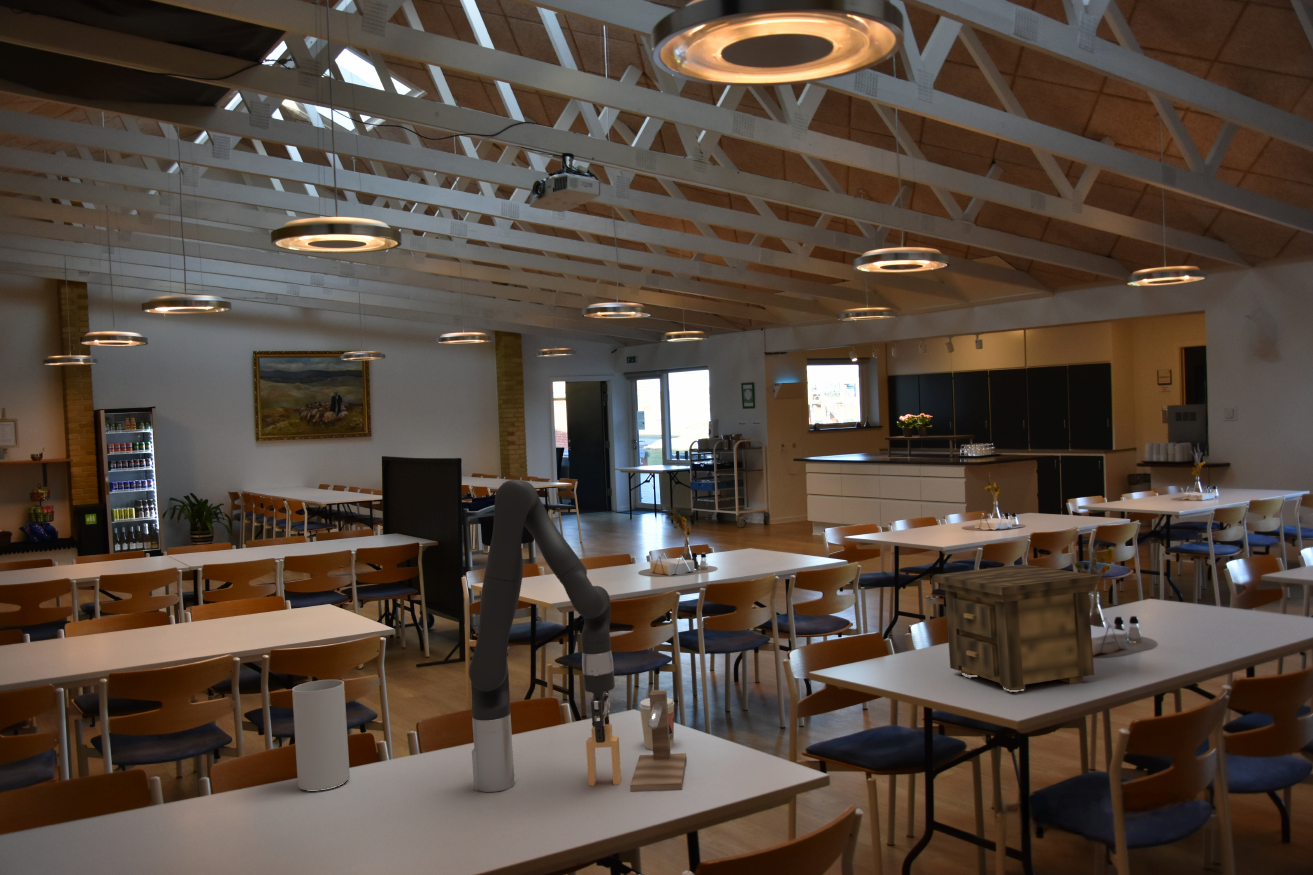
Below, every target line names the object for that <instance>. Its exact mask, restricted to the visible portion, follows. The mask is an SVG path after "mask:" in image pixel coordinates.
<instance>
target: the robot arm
mask: <svg viewBox="0 0 1313 875" xmlns="http://www.w3.org/2000/svg"><path fill="white" fill-rule="evenodd" d="M493 506H494V509H493V525H492V526H493V527H492V535H491V541H490V545H489V549H488V555H487V559H486V566H485V570H484V573H483V574H484V576H483V581H482V582H483V583H482V588H481V598H480V609H479V624H478V625H479V628H478V636H477V640H476V644H475V647H474V651H473V654H472V658H471V660H470V663H469V665H468V666H469V667H468V677H469V680H470V686H471V717H472V720H471V721H472V732H473V749H472V750H471V759H472V761H471V762H472V776H473V778H472V779H473V791H480V792H485V793H487V792H488V793H491V792H492V793H495V792H500V791H505V790H509V789H510V788H513V786H514V785H515V783H516V780H515V768H514V767H515V765H514V750H513V734H512V721H511V720H512V719H511V718H512V717H511V716H512V715H511V697H510V696H511V695H510V694H511V693H510V677H509V676H510V675H509V665H508V664H509V663H508V647H509V644H508V643H509V638H510V634H511V630H512V629H511V628H512V625H513V622H514V618H515V616H516V612H517V607H518V603H519V600H520V594H521V588H522V584H523V575H524V561H523V551H522V550H523V549H522V539H523V534H524V528H525V529H527V530H528V532H529V533H530V535H531V536H532V538H533V540H534V541H535V543H536V544H537V546H538V549H539V551H540V553H541V556H542V557H543V559H544V561H545V562H546V564H547V566H548V567H549V569H550V570H551V571H552V573H553V574H554V575H555V578H557V580H558V581H559V582H560V583H561V584H562V586H563V588H564V590H565V592H566V594H567V597H568V599H569V601H570V603H571V605H572V607H573V608H574V609H575V611H576V612H577V613H578V614H579V615H580V616H581V617H582V618H583V623H584V624H583V628H582V631H581V636H580V639H581V641H580V642H581V652H582V653H581V654H582V655H581V656H582V658H581V666H582V680H583V690H584V691H585V692H587V693H592V694H593V696H592V698H591V701H590V706H591V708H590V709H591V711H590V712H591V725H592V727H595V737H596V742H597V743H603V742H605V728H604V725H605V724H610V714H611V712H610V711H611V702H610V691H612V690H614V688H615V686H616V685H615V670H614V660H613V659H614V658H613V654H612V645H611V634H610V627H611V626H610V625H611V613H612V612H611V611H612V609H611V608H612V607H611V605H612V603H611V598H610V594H609V593H608V591H607V590H606V589H605V587H603V586H600V585H593V584H592V582H591V581H590V579H589V578H588V576H587V574H588V571H587V568H586V567H585V565H584V563H583V562H582V561H581V559H580V557H579V556H578V555H577V554H576V552H575V551H574V550H573V548H572V547H571V546H570V545H569V544H570V543H568V542H567V540H566V539H565V537H564V536H563V535H562V533H561V532H560V531H559V529H558V528H557V527H556V525H555V524H554V522H553V520H552V519H551V517H550V515H549V513H548V511H547V509H546V508H545V506H544V503H543V502H542V501H541V498H540V496H539V494H538V492H537V490H536V488H535V487H534V485H532V483H530V482H528V481H526V480H522V479H511V480H507V481H504V482H503V483H501V485H500V486H499V487H498V488H497V491H496V493H495V496H494V505H493ZM597 719H599V720H597Z"/></svg>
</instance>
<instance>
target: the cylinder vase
mask: <svg viewBox="0 0 1313 875" xmlns="http://www.w3.org/2000/svg"><path fill="white" fill-rule="evenodd" d="M291 691H292V693H291V694H292V708H293V709H292V710H293V726H294V728H293V729H294V740H295V742H294V744H295V757H296V758H295V759H296V760H295V761H296V773H297V775H296V776H297V787H298V788H299V789H300V790H301V789H303V790H321V789H327V788H331V787H334V786H338V785H340V784H342V783H345V782H346V781H347V780H348V781H349V780H350V778H351V777H350V773H351V772H350V760H349V758H350V757H349V744H348V743H349V742H348V741H349V740H348V726H347V725H348V724H347V712H346V711H347V710H346V709H347V708H346V707H347V706H346V692H345V681H344V680H340V679H321V680H314V681H308V682H304V683H301V684H297V685H296V686H294V687H292V689H291ZM348 781H347V782H348ZM347 782H346V783H347ZM346 783H345V784H346ZM303 790H302V791H303Z"/></svg>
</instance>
